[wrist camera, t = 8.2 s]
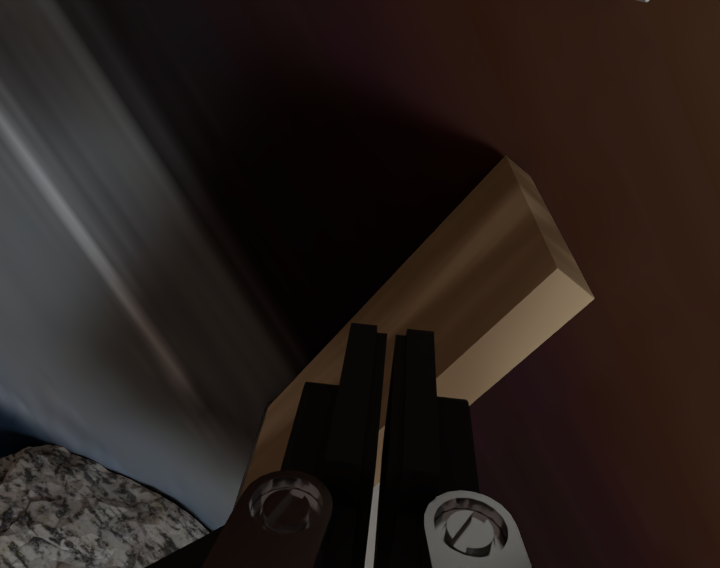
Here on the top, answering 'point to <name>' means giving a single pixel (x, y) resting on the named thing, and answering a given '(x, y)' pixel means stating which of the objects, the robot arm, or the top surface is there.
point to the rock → (83, 515)
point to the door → (456, 304)
